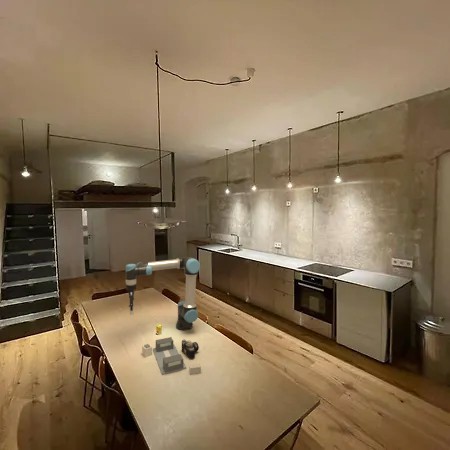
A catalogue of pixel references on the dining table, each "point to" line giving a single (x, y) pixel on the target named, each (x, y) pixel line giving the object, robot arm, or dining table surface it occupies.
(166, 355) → the rail board
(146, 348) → the block
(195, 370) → the terminal block
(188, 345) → the camera
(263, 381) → the dining table surface
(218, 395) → the dining table surface
